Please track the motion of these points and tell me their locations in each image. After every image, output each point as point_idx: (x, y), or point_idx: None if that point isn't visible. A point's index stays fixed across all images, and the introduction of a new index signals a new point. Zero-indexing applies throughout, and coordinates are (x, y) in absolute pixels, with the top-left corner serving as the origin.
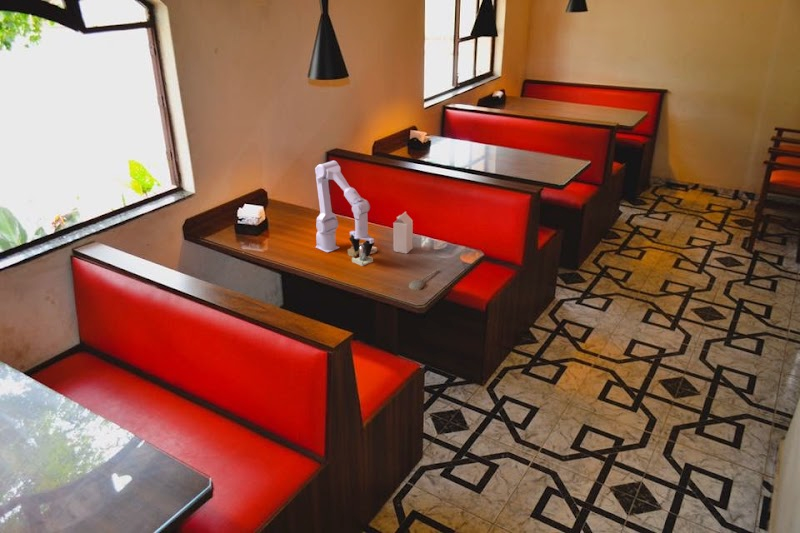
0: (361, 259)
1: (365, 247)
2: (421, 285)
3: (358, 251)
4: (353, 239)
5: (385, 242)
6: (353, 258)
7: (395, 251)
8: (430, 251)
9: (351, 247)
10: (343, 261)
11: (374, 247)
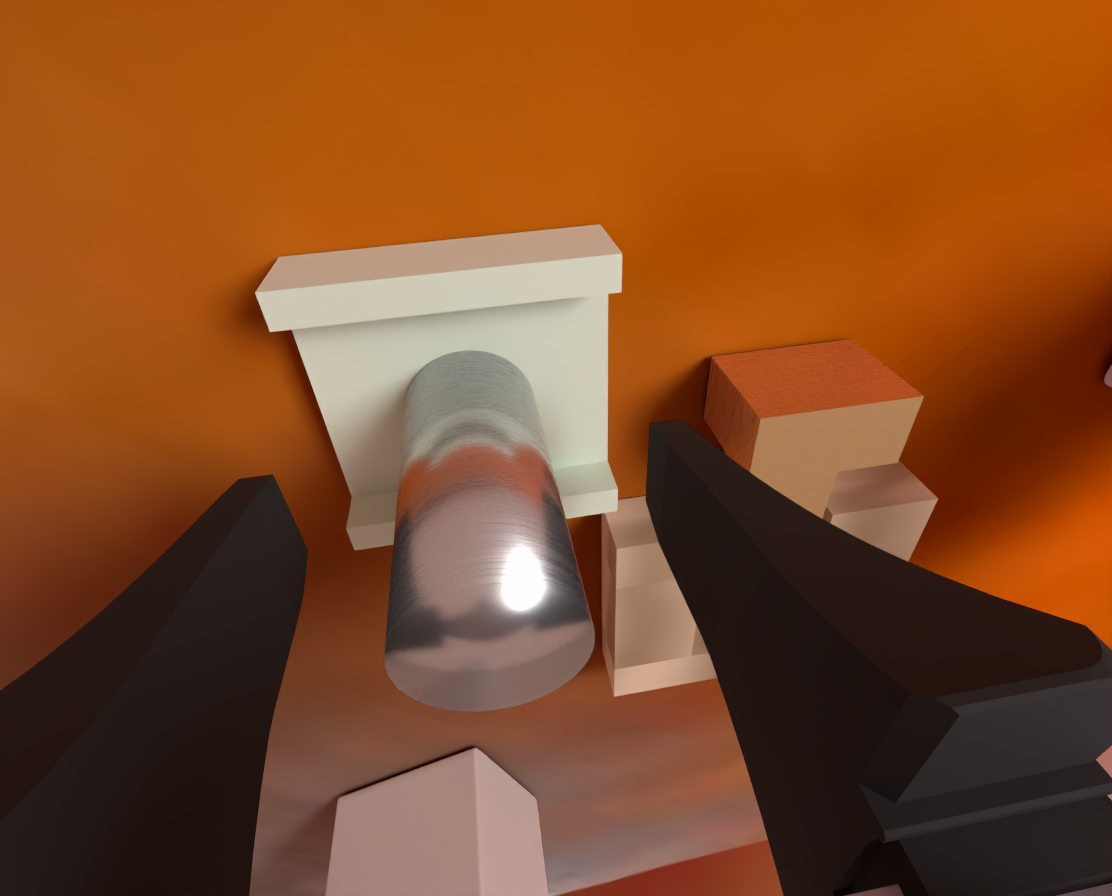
0: (437, 376)
1: (10, 726)
2: None
3: None
4: (872, 734)
5: (697, 752)
6: (568, 263)
7: (454, 755)
8: (274, 893)
9: (922, 494)
10: (752, 82)
11: (644, 682)
